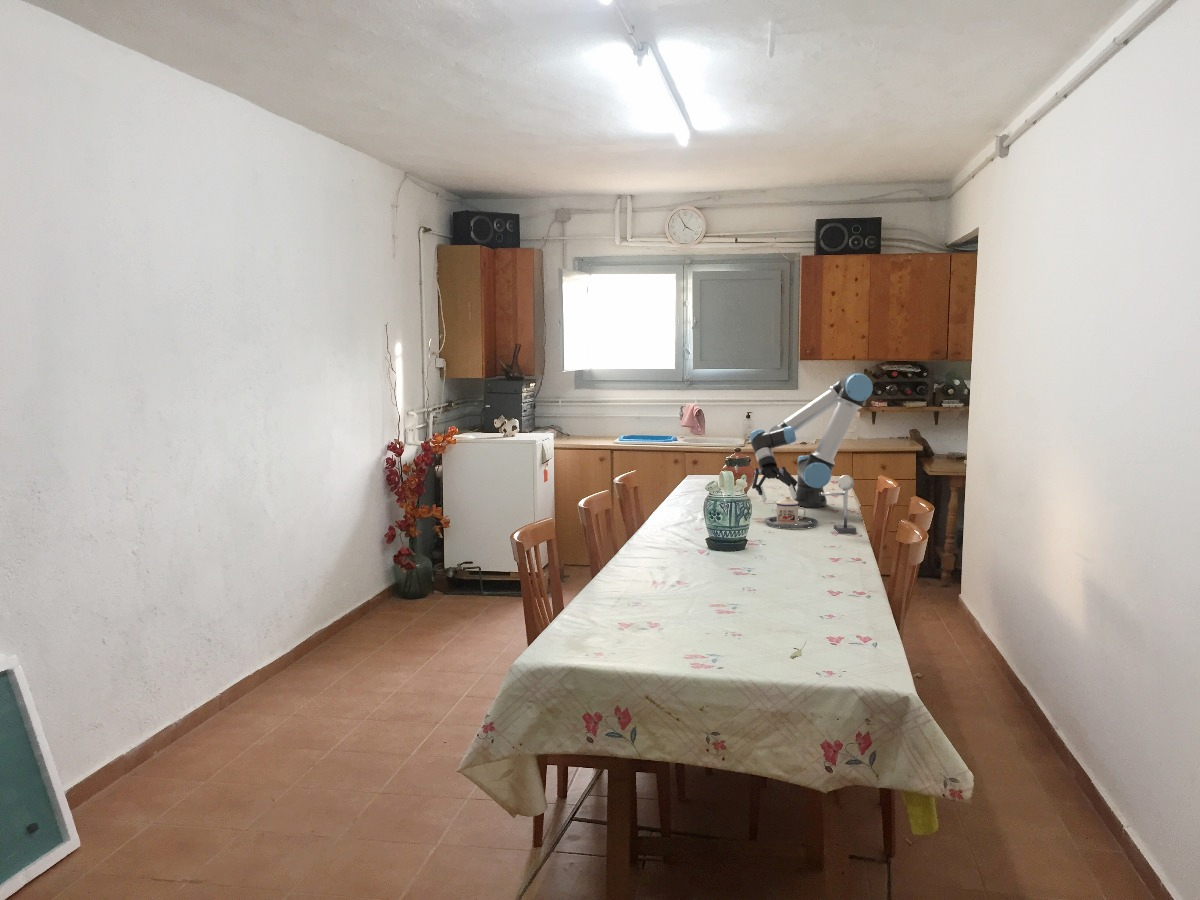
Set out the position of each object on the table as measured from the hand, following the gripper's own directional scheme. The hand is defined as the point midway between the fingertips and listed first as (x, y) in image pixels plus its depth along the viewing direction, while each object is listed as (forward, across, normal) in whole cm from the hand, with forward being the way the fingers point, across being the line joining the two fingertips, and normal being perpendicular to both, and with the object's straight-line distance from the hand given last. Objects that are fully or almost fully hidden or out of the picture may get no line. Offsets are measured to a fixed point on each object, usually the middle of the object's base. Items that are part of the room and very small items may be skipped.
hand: (780, 499), depth 384 cm
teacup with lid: (+14, 0, +2) cm, 14 cm away
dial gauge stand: (+27, -11, +15) cm, 33 cm away
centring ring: (+14, 0, +2) cm, 14 cm away
